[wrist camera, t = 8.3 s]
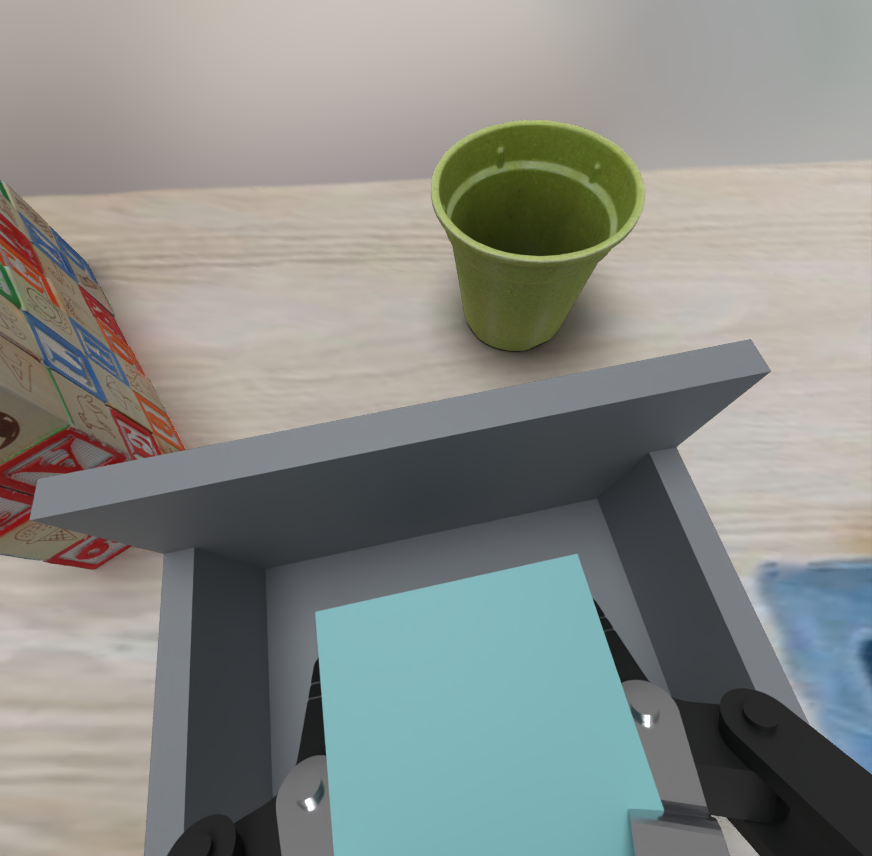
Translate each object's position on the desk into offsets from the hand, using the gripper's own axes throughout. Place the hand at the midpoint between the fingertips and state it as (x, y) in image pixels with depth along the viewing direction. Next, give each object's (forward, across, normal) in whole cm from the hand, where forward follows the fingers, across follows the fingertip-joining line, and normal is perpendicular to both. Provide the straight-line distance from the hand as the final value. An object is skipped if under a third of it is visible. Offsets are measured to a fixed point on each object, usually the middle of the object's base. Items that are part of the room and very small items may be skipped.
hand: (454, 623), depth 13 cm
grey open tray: (+5, 0, +6) cm, 8 cm away
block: (+1, 0, +4) cm, 4 cm away
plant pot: (+17, -7, -6) cm, 20 cm away
